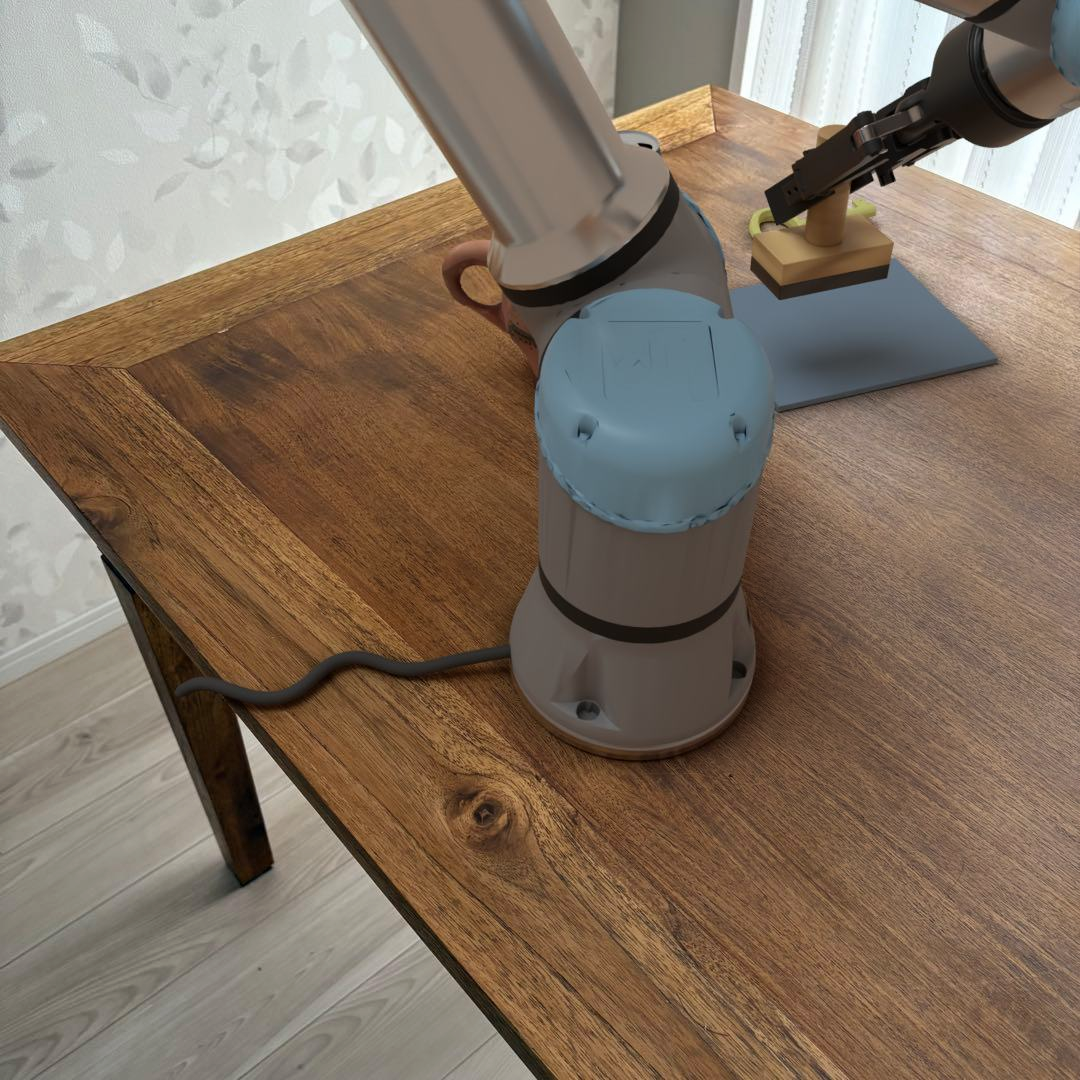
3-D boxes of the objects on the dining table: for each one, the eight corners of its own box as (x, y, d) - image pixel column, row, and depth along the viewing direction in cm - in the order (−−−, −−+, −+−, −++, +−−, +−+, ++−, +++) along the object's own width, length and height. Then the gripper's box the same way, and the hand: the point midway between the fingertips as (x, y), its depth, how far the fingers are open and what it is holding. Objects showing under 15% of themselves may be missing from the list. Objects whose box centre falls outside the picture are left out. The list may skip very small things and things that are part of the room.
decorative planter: (437, 422, 86) (424, 265, 76) (456, 330, 94) (447, 178, 84) (696, 434, 85) (717, 277, 75) (692, 340, 93) (711, 187, 83)
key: (878, 225, 106) (883, 205, 105) (781, 264, 102) (785, 243, 100) (826, 194, 111) (830, 174, 109) (730, 230, 106) (733, 210, 104)
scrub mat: (777, 412, 87) (778, 406, 86) (693, 302, 97) (694, 296, 97) (996, 363, 91) (998, 357, 91) (893, 263, 102) (895, 257, 101)
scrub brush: (779, 300, 82) (796, 156, 75) (749, 269, 86) (763, 128, 78) (887, 278, 84) (915, 135, 76) (854, 249, 87) (877, 109, 80)
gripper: (945, 156, 60) (724, 277, 82) (1146, 91, 65) (888, 221, 87) (899, 21, 59) (689, 180, 81) (1105, -33, 65) (856, 129, 87)
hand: (792, 201), depth 84 cm, fingers closed on scrub brush, 3 cm apart
